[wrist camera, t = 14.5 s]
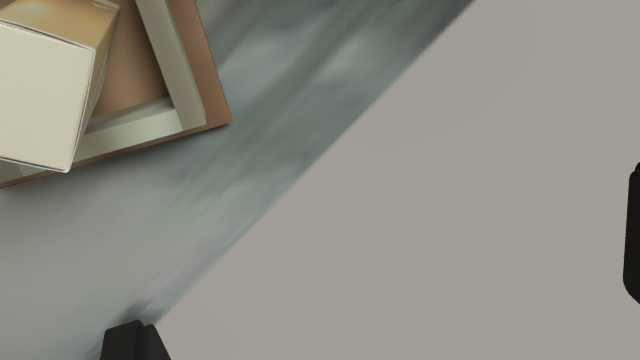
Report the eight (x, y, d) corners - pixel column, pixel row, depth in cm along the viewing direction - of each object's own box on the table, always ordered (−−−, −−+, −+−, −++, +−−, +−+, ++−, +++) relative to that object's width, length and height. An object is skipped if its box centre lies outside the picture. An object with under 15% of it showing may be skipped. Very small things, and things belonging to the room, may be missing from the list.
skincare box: (101, 97, 37) (69, 182, 26) (27, 77, 35) (-38, 159, 25) (124, -1, 34) (99, 49, 24) (46, -26, 33) (-17, 14, 22)
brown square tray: (150, -137, 32) (147, -140, 29) (231, 117, 40) (236, 138, 37) (-138, -67, 31) (-177, -62, 28) (3, 182, 39) (-14, 211, 35)
